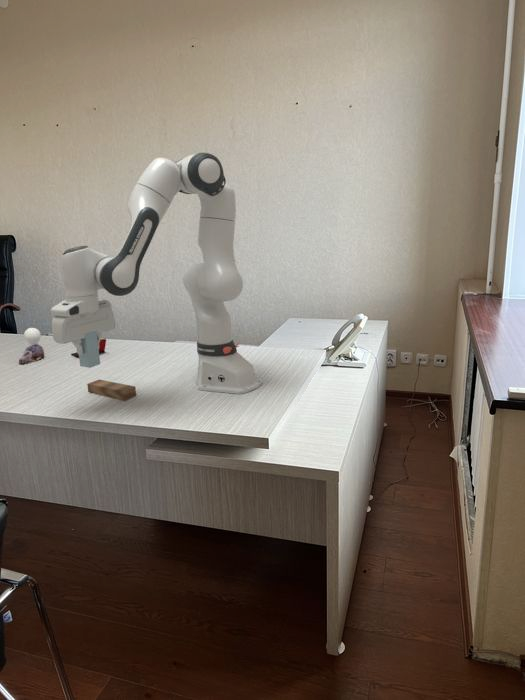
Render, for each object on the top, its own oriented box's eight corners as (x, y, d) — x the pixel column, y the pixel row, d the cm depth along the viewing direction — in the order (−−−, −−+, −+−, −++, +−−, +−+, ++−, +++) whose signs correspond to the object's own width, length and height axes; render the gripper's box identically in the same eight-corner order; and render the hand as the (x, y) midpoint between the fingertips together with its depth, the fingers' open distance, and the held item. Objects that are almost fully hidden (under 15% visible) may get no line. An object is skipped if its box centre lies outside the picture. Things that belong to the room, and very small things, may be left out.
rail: (136, 395, 166) (135, 386, 165) (124, 400, 162) (123, 391, 161) (100, 388, 174) (99, 379, 173) (88, 392, 170) (87, 383, 169)
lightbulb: (39, 355, 215) (35, 329, 212) (23, 356, 215) (19, 329, 213) (45, 351, 222) (42, 325, 219) (30, 352, 222) (26, 326, 219)
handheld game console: (98, 350, 222) (96, 334, 220) (108, 355, 214) (106, 338, 212) (70, 356, 214) (67, 339, 213) (80, 361, 207) (77, 343, 205)
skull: (27, 366, 201) (24, 351, 199) (11, 365, 204) (8, 350, 202) (49, 358, 212) (47, 343, 210) (34, 357, 215) (31, 342, 213)
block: (100, 364, 156) (96, 330, 154) (89, 367, 153) (85, 333, 150) (90, 362, 158) (86, 329, 156) (80, 366, 155) (75, 332, 152)
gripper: (102, 297, 161) (107, 342, 165) (45, 310, 144) (52, 359, 148) (117, 299, 158) (122, 344, 162) (61, 312, 141) (68, 361, 145)
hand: (88, 351), depth 155 cm, fingers closed on block, 4 cm apart
